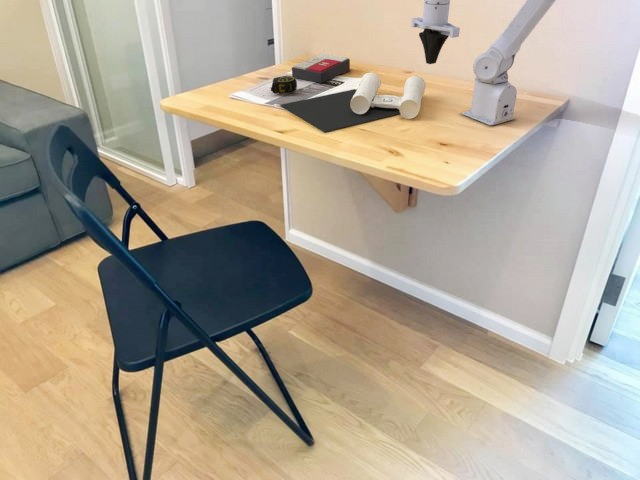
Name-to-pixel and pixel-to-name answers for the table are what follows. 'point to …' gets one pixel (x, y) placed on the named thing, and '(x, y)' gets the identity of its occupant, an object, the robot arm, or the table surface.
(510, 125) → the table surface
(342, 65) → the grey and red box
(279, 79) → the tape measure
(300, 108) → the mat
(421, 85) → the binoculars
